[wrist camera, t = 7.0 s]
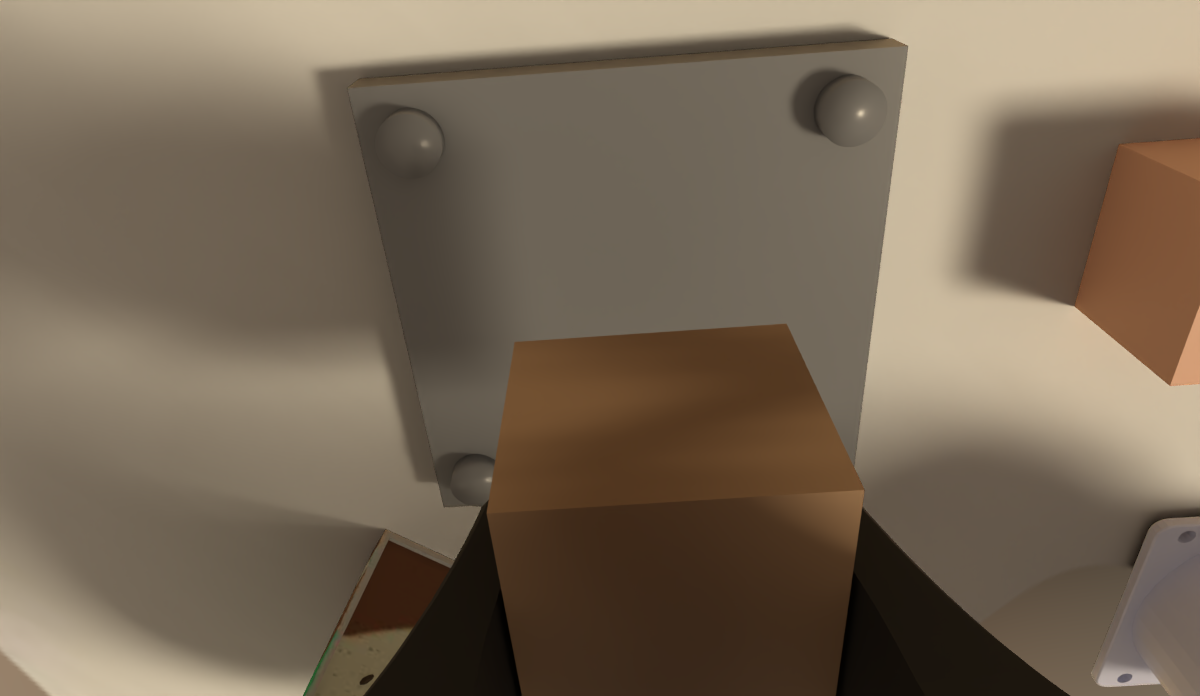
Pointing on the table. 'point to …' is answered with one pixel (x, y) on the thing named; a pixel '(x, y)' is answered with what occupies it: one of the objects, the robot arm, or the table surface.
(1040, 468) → the table surface
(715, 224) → the base plate
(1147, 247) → the terracotta block
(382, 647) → the food container
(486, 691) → the robot arm
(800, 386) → the walnut brick
